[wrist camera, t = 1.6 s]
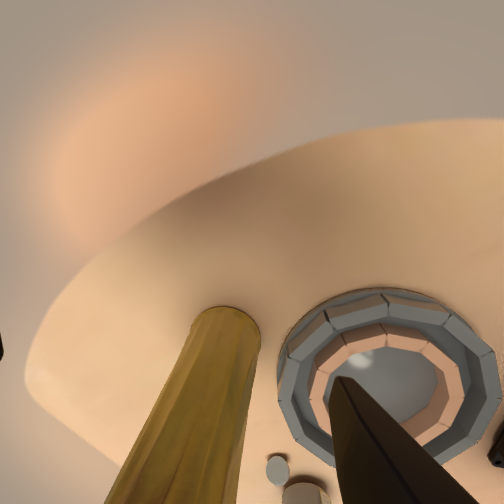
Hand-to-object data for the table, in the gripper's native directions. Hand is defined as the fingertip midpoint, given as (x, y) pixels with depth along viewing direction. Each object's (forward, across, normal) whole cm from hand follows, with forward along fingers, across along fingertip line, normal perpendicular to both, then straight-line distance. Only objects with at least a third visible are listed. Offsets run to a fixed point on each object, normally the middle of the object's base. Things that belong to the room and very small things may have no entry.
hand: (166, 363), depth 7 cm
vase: (+14, 0, +9) cm, 16 cm away
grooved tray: (+13, -13, +10) cm, 21 cm away
